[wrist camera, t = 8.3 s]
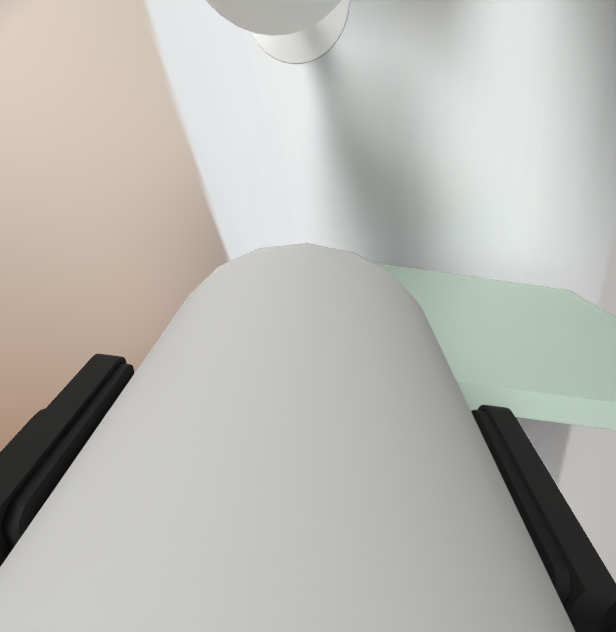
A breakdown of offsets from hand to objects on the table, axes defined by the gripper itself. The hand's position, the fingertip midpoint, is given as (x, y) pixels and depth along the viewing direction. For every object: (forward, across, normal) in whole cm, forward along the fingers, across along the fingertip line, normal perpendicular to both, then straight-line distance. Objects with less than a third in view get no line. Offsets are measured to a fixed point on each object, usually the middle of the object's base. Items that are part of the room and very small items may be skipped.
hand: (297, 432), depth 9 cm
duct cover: (+13, -12, +3) cm, 18 cm away
